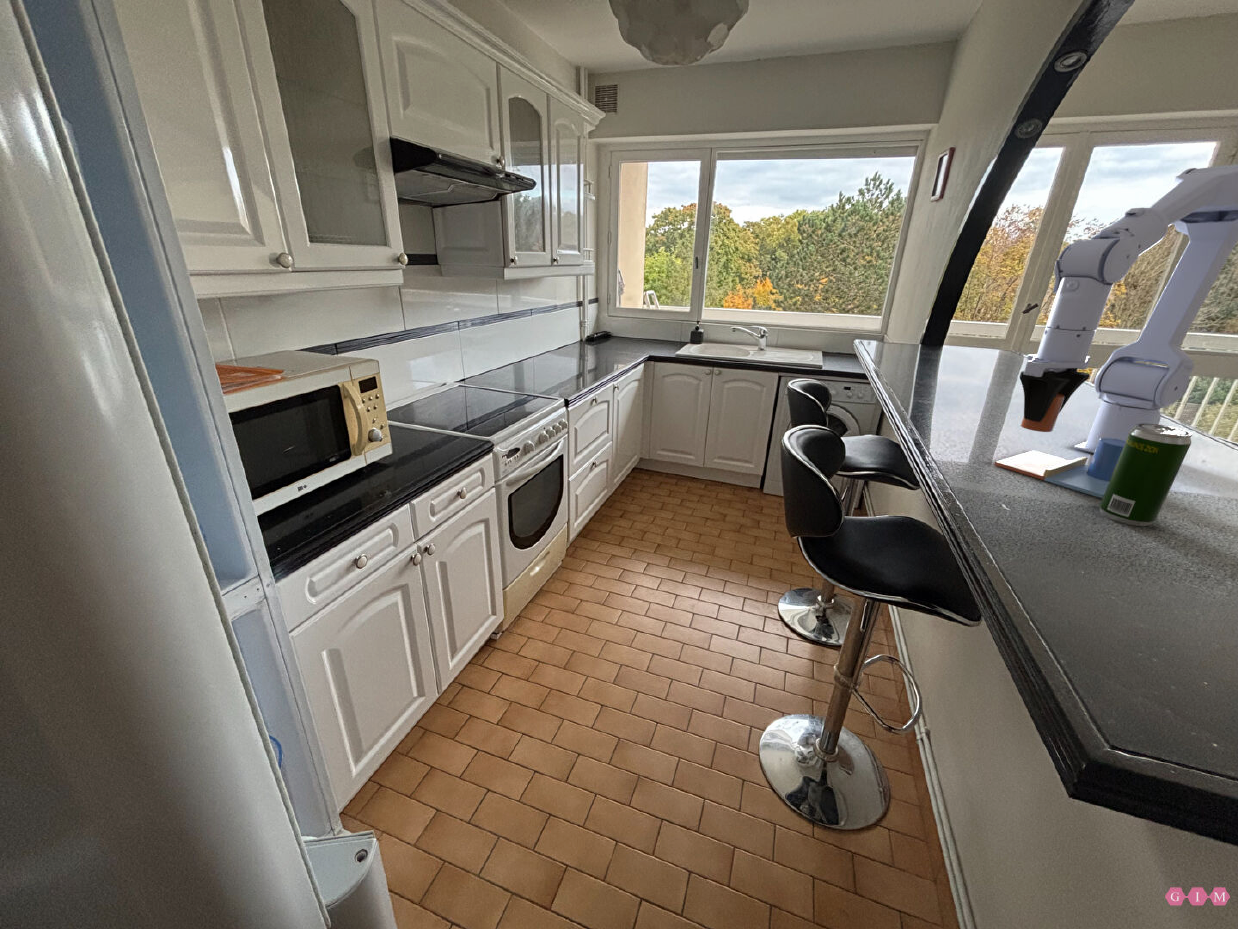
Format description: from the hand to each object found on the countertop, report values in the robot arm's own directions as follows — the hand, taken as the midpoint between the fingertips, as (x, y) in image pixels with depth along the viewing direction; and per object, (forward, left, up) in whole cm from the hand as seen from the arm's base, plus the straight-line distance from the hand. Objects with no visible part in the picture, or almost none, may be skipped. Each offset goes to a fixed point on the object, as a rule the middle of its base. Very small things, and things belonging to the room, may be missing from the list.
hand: (1039, 418), depth 79 cm
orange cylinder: (0, 0, -2) cm, 2 cm away
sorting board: (-2, +4, -8) cm, 10 cm away
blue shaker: (-5, +8, -8) cm, 12 cm away
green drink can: (+8, +15, -8) cm, 19 cm away
